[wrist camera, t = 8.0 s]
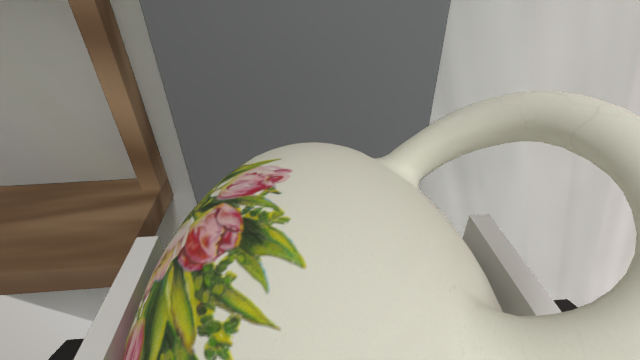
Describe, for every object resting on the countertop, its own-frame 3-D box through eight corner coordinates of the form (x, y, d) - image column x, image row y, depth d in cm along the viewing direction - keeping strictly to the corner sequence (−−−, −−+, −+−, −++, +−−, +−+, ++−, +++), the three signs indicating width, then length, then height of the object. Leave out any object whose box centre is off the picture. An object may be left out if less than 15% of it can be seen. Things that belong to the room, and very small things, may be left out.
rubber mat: (113, -115, 15) (105, -117, 15) (464, -120, 16) (472, -122, 15) (216, 259, 29) (214, 266, 28) (403, 245, 30) (406, 252, 29)
